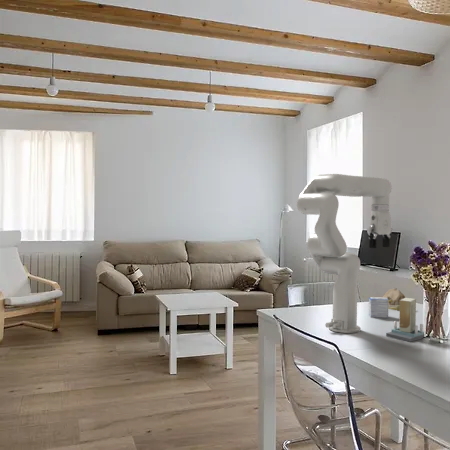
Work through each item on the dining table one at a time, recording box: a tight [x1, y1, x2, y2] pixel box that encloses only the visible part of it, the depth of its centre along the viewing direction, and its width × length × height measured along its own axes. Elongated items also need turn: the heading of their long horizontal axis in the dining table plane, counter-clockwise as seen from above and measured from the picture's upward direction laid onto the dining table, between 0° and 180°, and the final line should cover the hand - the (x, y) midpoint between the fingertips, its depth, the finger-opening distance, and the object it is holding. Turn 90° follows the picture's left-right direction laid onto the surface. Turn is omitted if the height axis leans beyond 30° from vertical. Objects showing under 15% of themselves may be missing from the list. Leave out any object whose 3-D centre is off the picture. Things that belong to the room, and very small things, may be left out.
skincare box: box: [398, 297, 417, 333], centre depth 184 cm, size 6×4×12 cm
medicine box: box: [368, 296, 389, 319], centre depth 218 cm, size 8×4×9 cm, turn 84°
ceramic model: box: [382, 287, 406, 312], centre depth 239 cm, size 14×11×10 cm
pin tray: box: [385, 319, 424, 343], centre depth 184 cm, size 14×10×5 cm
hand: (379, 247), depth 210 cm, fingers open, 9 cm apart
